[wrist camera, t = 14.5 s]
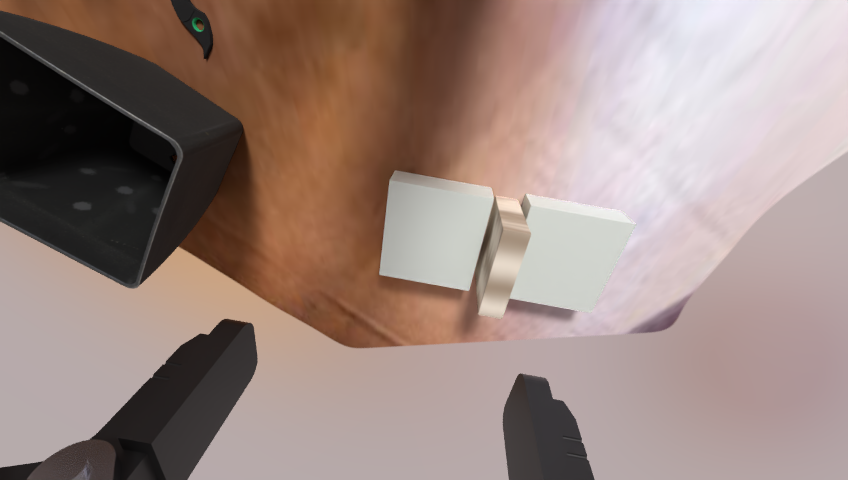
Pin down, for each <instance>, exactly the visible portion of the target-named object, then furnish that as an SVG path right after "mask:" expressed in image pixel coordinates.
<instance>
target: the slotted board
mask: <svg viewBox="0 0 848 480" xmlns="http://www.w3.org/2000/svg"><path fill="white" fill-rule="evenodd" d="M493 201H494V196H493V192H492V188H491V187H486V186H480V185H475V184H469V183H464V182H458V181H452V180H447V179H441V178H436V177H430V176H424V175H419V174H413V173H408V172H402V171H397V170H395V171H394V173H393V175H392V177H391V178H390V181H389V190H388V199H387V208H386V217H385V226H384V236H383V245H382V254H381V263H380V272H379V275H383V276H389V277H394V278H400V279H405V280H411V281H416V282H422V283H427V284H433V285H438V286H444V287H449V288H455V289H460V290H466V291H469V289H470V285H471V282H472V278H473V274H474V271H475V267H476V263H477V260H478V256H479V252H480V249H481V245H482V241H483V238H484V234H485V230H486V227H487V223H488V219H489V216H490V212H491V208H492V205H493ZM521 209H522V212H523V214H524V217H525V219H526V222H527V224H528V227H529V230H530V232H531V237H530V240H529V243H528V246H527V249H526V252H525V254H524V257H523V260H522V263H521V266H520V269H519V272H518V275H517V277H516V280H515V283H514V286H513V289H512V292H511V295H510V299H515V300H521V301H526V302H532V303H537V304H543V305H548V306H554V307H559V308H565V309H570V310H576V311H581V312H587V313H591V312H592V310H593V308H594V306H595V304H596V302H597V300H598V299H599V297H600V295H601V293H602V291H603V289H604V287H605V285H606V283H607V281H608V279H609V277H610V275H611V273H612V271H613V269H614V267H615V265H616V263H617V261H618V259H619V257H620V255H621V254H622V252H623V250H624V248H625V246H626V244H627V242H628V240H629V238H630V236H631V234H632V232H633V230H634V228H635V226H636V224H635V223H634V222H633V221H632V220H631V219H630V218H629V217H628V216H627V215H626V214H625V213H624V212H623V211H620V210H614V209H609V208H603V207H598V206H592V205H586V204H581V203H575V202H570V201H564V200H558V199H553V198H547V197H542V196H536V195H531V194H525V197H524V200H523V203H522V206H521Z"/></svg>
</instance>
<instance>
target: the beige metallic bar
mask: <svg viewBox="0 0 848 480" xmlns="http://www.w3.org/2000/svg"><path fill="white" fill-rule="evenodd" d="M530 237H531V232H530V230H529V227H528V224H527V222H526V219H525V217H524V214H523V212H522V209H521V206H520V204H519V201H518V199H512V198H507V197H501V196H495V198H494V202H493V206H492V210H491V213H490V217H489V221H488V224H487V228H486V232H485V235H484V239H483V243H482V246H481V250H480V254H479V257H478V261H477V265H476V269H475V277H476V292H477V307H478V315H482V316H487V317H493V318H498V319H502V318H503V315H504V312H505V309H506V306H507V303H508V301H509V298H510V295H511V292H512V289H513V286H514V283H515V280H516V277H517V275H518V272H519V269H520V266H521V263H522V260H523V257H524V254H525V252H526V249H527V246H528V243H529V240H530Z"/></svg>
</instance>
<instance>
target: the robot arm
mask: <svg viewBox="0 0 848 480" xmlns="http://www.w3.org/2000/svg"><path fill="white" fill-rule="evenodd" d="M256 366H257V350H256V342H255V334H254V327H253V325H252V324H251V323H247V322H241V321H235V320H230V319H224V320H222V321H221V322H220V323H219V324H218V325H217V326H216V327H215V328H214V329H213V330H212V331H211V333H210V334H209V335H206V334H199V335H197V336H196V337H194V338H193V339H191V340H189V341H188V342H186V343H185V344H183V345H181V346H180V347H179V348H178V349H177V350H176V351H175V352H174V353H173V354H172V356H171V357H170V358H169V359H168V360H167V361H166V364H165V365H162V366H161V367H160V368H159V369H158V370H157V371H156V372H155V373H154V375H153V377H152V378H150V379H149V380H148V381H147V382H146V383H145V384H144V385H143V386H142V387H141V388H140V389H139V390H138V391H137V392H136V393H135V394H134V395H133V396H132V398H131V399H130V400H129V401H128V402H127V403H126V404H125V405H124V406H123V407H122V408H121V409H120V410H119V411H118V412H117V413H116V414H115V415H114V416H113V417H112V418H111V420H110V421H109V422H108V423H107V424H106V425H105V426H104V427H103V428H102V429H101V430H100V431H99V432H98V433H97V434H96V435H95V436H93V437H92V438H91V439H90V440H86V441H81V442H78V443H75V444H72V445H70V446H67V447H65V448H64V449H61V450H60V451H58V452H56V453H55V454H53V455H51V456H50V457H49V458H47V459H46V460H45V461H42V462H38V463H30V464H23V465H17V466H10V467H2V468H0V480H187V479H188V478H189V476H190V474H191V473H192V471H193V470H194V468H195V466H196V465H197V463H198V462H199V460H200V459H201V457H202V456H203V454H204V452H205V451H206V449H207V448H208V446H209V445H210V443H211V442H212V440H213V438H214V437H215V435H216V434H217V432H218V431H219V429H220V427H221V426H222V424H223V423H224V421H225V420H226V418H227V417H228V415H229V413H230V412H231V410H232V409H233V407H234V406H235V404H236V402H237V401H238V399H239V398H240V396H241V395H242V393H243V392H244V389H245V388H246V387H247V385H248V384H249V382H250V381H251V379H252V377H253V375H254V372H255V370H256ZM503 431H504V440H505V449H506V457H507V466H508V475H509V480H594V477H593V473H592V470H591V467H590V464H589V461H588V460H587V454H586V451H585V448H584V445H583V443H582V438H581V435H580V432H579V429H578V425H577V422H576V419H575V418H574V416H573V415H572V413H571V412H570V410H569V409H568V407H567V406H566V404H565V403H564V402H563V401H560V400H555V399H553V398H552V394H551V390H550V387H549V383H548V381H547V380H546V378H542V377H537V376H531V375H526V374H519V375H518V376H517V378H516V380H515V383H514V385H513V388H512V390H511V392H510V395H509V397H508V399H507V402H506V404H505V407H504V413H503Z"/></svg>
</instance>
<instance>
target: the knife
mask: <svg viewBox="0 0 848 480" xmlns="http://www.w3.org/2000/svg"><path fill="white" fill-rule="evenodd" d="M171 2H172V5H173V7H174V9H175V11H176V13H177V15H178V17H179V19H180V20H181V21H182V22H183V23H184V25H185V26H186V27H187V28H188V29H189V30H190V32H191V33H192V34H193V35H194V36H195V37H196V38H197V40H198V41H199V42H200V43H201V45H202V47H203V49H204V59H207V57H208V54H209V52H210V50H211V48H212V46H213V34H212V30H211V26H210V22H209V20H208V18H207V16H206V15H205V13H203V12H201V11H200V10H198V9H197V8H196V7H195V6H194V5H193V4H192V3H191V1H190V0H171ZM198 19H200V20H201V21H202V22H203V24H204V28H203V30H199V29H198V27H197V26H196V22H197V20H198Z"/></svg>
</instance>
